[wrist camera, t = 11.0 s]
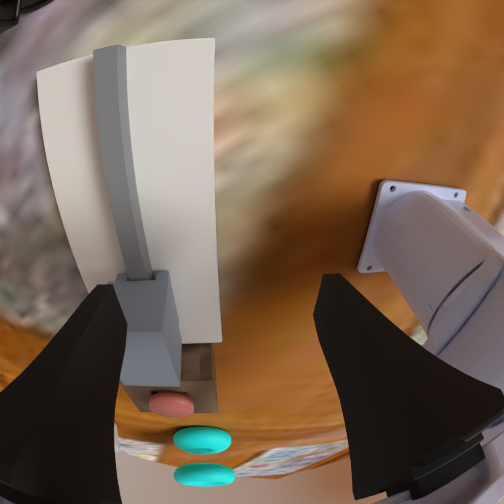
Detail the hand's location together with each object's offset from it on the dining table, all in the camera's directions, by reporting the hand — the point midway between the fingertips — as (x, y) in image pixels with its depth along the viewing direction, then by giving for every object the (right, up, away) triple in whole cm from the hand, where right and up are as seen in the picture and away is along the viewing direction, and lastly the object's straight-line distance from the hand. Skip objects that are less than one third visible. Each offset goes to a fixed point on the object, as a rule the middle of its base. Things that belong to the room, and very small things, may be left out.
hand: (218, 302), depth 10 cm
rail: (-6, +4, +8) cm, 11 cm away
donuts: (-8, -29, +32) cm, 44 cm away
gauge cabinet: (-7, -9, +17) cm, 20 cm away
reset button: (-7, -9, +16) cm, 19 cm away
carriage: (-6, -2, +10) cm, 12 cm away
